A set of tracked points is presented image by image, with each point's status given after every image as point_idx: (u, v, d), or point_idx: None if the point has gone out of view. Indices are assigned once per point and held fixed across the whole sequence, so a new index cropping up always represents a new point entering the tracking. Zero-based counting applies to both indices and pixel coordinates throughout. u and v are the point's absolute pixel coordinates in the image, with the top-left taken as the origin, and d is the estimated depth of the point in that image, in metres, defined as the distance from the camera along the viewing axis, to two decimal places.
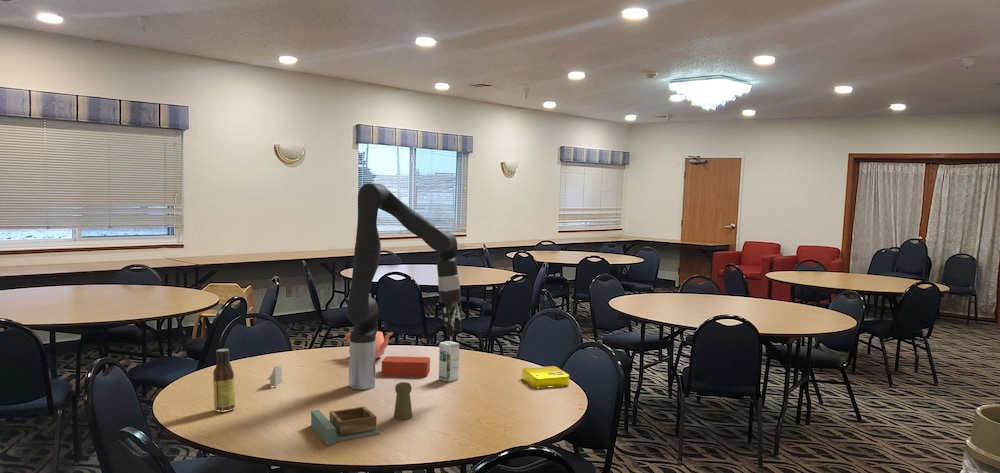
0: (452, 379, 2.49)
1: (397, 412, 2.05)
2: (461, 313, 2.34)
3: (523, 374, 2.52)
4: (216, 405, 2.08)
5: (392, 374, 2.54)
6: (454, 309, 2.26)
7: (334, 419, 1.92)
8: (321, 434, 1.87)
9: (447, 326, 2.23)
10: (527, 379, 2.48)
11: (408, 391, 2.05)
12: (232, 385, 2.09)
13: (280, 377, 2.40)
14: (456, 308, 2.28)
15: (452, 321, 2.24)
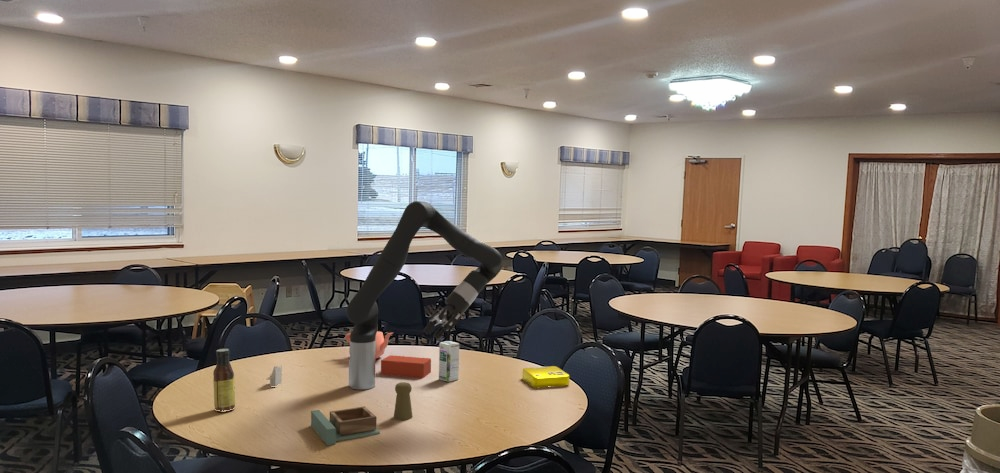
0: (452, 379, 2.49)
1: (397, 412, 2.05)
2: (436, 319, 2.20)
3: (523, 374, 2.52)
4: (216, 405, 2.08)
5: (390, 373, 2.55)
6: None
7: (334, 419, 1.92)
8: (321, 434, 1.87)
9: (444, 328, 2.08)
10: (527, 379, 2.48)
11: (408, 391, 2.05)
12: (232, 385, 2.09)
13: (280, 377, 2.40)
14: None
15: None
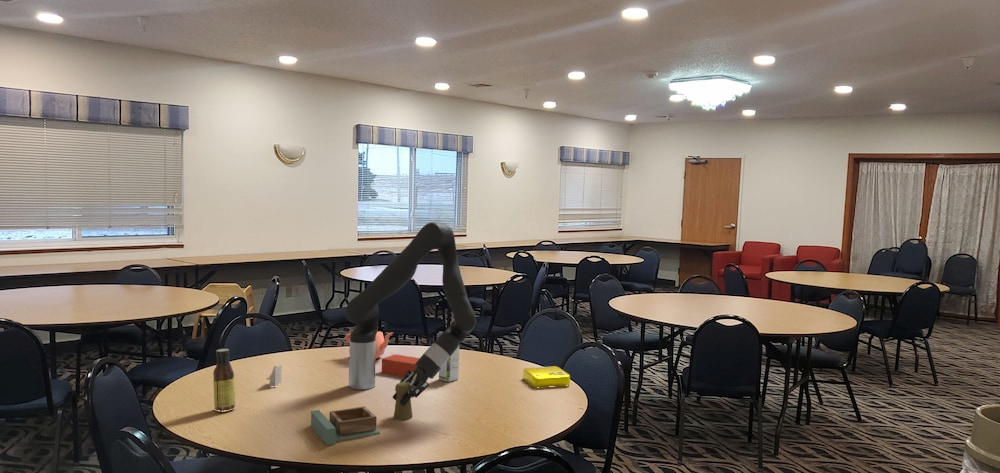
0: (452, 379, 2.49)
1: (397, 412, 2.05)
2: None
3: (524, 374, 2.52)
4: (216, 405, 2.08)
5: (390, 372, 2.57)
6: None
7: (334, 419, 1.92)
8: (321, 434, 1.87)
9: (409, 395, 2.04)
10: (528, 379, 2.48)
11: None
12: (232, 385, 2.09)
13: (280, 377, 2.40)
14: None
15: None
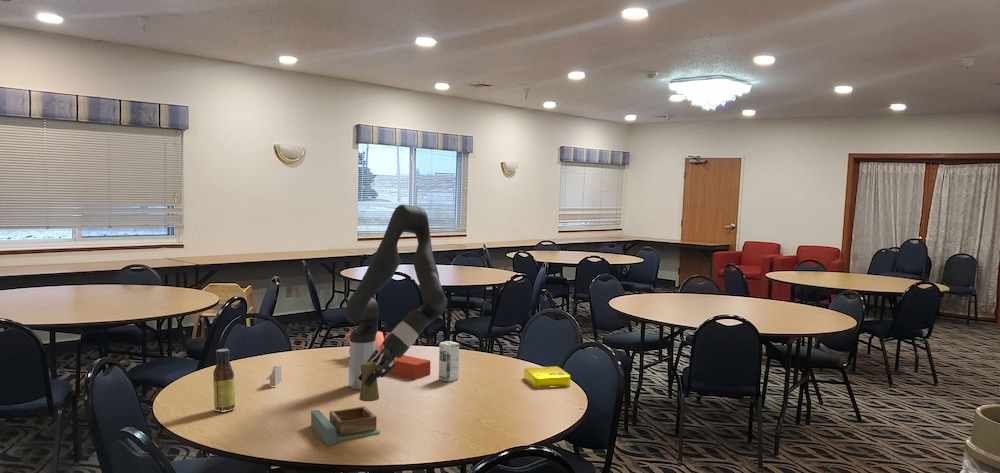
0: (452, 379, 2.49)
1: (362, 393, 1.95)
2: None
3: (525, 374, 2.52)
4: (216, 405, 2.08)
5: (390, 372, 2.58)
6: None
7: (334, 419, 1.92)
8: (321, 434, 1.87)
9: (375, 375, 1.93)
10: (528, 379, 2.48)
11: None
12: (232, 385, 2.09)
13: (279, 377, 2.40)
14: None
15: None
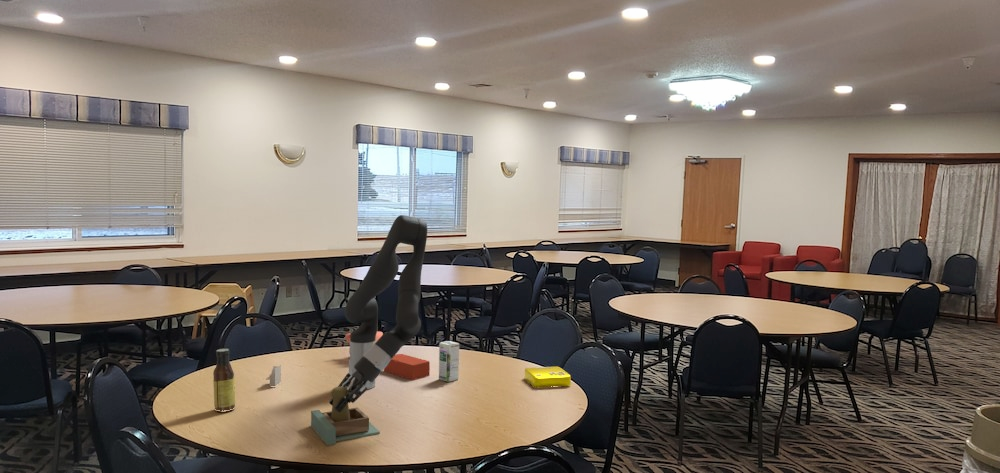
0: (452, 379, 2.49)
1: (333, 419, 1.91)
2: None
3: (525, 374, 2.52)
4: (216, 405, 2.08)
5: (390, 371, 2.58)
6: None
7: None
8: (321, 434, 1.87)
9: (346, 401, 1.89)
10: (529, 379, 2.48)
11: None
12: (232, 385, 2.09)
13: (279, 377, 2.40)
14: None
15: None
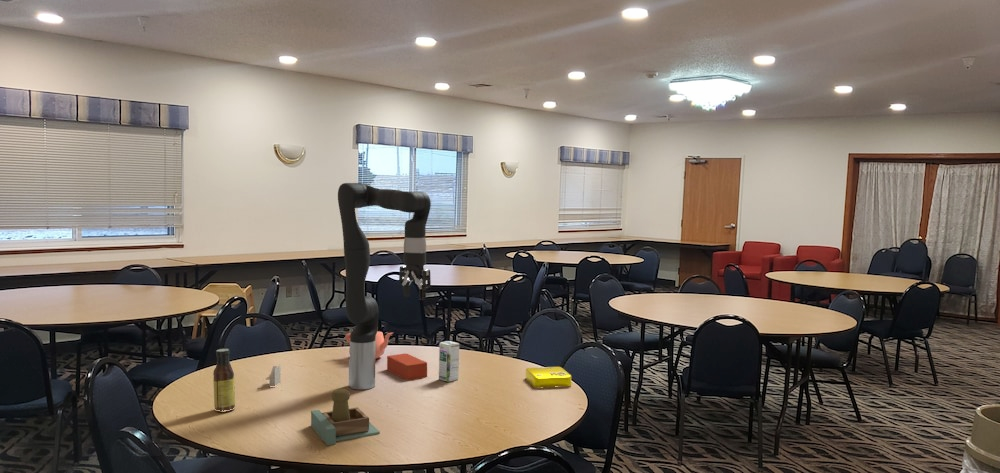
0: (452, 379, 2.49)
1: None
2: None
3: (526, 374, 2.52)
4: (216, 405, 2.08)
5: (391, 370, 2.60)
6: None
7: None
8: (321, 434, 1.87)
9: (423, 289, 2.15)
10: (529, 379, 2.48)
11: (345, 399, 1.91)
12: (232, 385, 2.09)
13: (279, 377, 2.40)
14: None
15: None
